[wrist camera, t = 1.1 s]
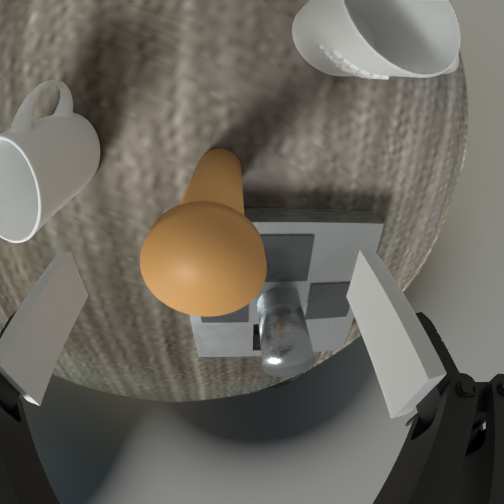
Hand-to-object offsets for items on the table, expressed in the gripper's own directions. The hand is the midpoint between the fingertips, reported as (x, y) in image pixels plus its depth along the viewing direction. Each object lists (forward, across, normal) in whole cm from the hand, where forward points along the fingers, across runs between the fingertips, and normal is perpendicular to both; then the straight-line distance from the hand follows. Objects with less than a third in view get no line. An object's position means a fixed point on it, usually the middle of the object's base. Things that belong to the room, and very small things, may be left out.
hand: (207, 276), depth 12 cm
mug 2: (+16, +12, +13) cm, 23 cm away
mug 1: (+16, -16, +5) cm, 22 cm away
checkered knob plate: (+16, +6, -14) cm, 22 cm away
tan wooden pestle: (+15, 0, 0) cm, 15 cm away
